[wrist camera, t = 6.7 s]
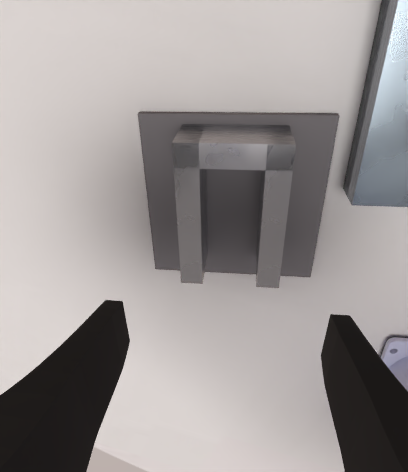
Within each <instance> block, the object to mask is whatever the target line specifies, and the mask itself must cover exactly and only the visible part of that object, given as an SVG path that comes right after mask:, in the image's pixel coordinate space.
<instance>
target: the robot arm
mask: <svg viewBox="0 0 408 472" xmlns="http://www.w3.org/2000/svg"><path fill="white" fill-rule="evenodd" d="M129 342H130V339H129V334H128V328H127V323H126V318H125V312H124V307H123V302H122V301H111V300H106V301H104V302H103V303H102V304H101V305H100V306H99V307H98V308H97V310H96V311H95V312H94V313H93V314H92V315H91V316H90V317H89V318H88V319H87V320H86V321H85V322H84V323H83V324H82V325H81V326H80V327H79V328H78V329H77V330H76V331H75V332H74V333H73V334H72V335H71V336H70V337H69V338H68V339H67V340H66V341H65V342H64V343H63V344H62V345H61V346H60V347H59V348H57V349H56V350H55V351H54V352H53V353H52V354H51V355H50V356H49V357H47V358H46V359H45V360H44V361H43V362H42V363H41V364H40V365H39V366H37V367H36V368H35V369H34V370H33V371H31V372H30V373H29V374H28V375H26V376H25V377H24V378H23V379H21V380H20V381H19V382H18V383H16V384H15V385H14V386H12V387H11V388H10V389H8V390H7V391H6V392H4V393H3V394H1V395H0V472H86V470H87V467H88V464H89V460H90V457H91V453H92V449H93V446H94V443H95V440H96V437H97V434H98V431H99V428H100V426H101V423H102V421H103V418H104V416H105V413H106V410H107V408H108V405H109V403H110V400H111V398H112V395H113V393H114V390H115V388H116V385H117V382H118V380H119V377H120V375H121V372H122V369H123V366H124V362H125V358H126V355H127V351H128V346H129ZM321 360H322V368H323V376H324V384H325V388H326V393H327V397H328V401H329V405H330V409H331V413H332V417H333V422H334V426H335V430H336V434H337V438H338V442H339V446H340V450H341V454H342V459H343V464H344V469H345V472H408V338H397V337H393V338H390V339H388V340H387V342H386V344H385V347H384V350H383V353H382V355H381V358H380V357H379V355H378V354H377V353H376V351H375V350H374V349H373V347H372V346H371V345H370V343H369V342H368V340H367V339H366V338H365V336H364V335H363V333H362V332H361V331H360V329H359V328H358V326H357V325H356V323H355V322H354V321H353V319H352V318H351V317H350V316H348V315H333V314H331V315H330V319H329V323H328V327H327V332H326V336H325V340H324V345H323V349H322V353H321Z"/></svg>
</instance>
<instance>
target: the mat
mask: <svg viewBox="0 0 408 472" xmlns="http://www.w3.org/2000/svg"><path fill="white" fill-rule="evenodd" d="M138 119H139V127H140V136H141V145H142V154H143V163H144V172H145V180H146V189H147V198H148V207H149V216H150V225H151V233H152V242H153V251H154V260H155V269H165V270H180V257H179V242H178V227H177V212H176V198H175V183H174V168H173V153H172V141H173V140H174V138H175V136H176V134H177V133H178V131H179V129H180V128H181V126H182V124H215V125H290V128H291V131H292V134H293V137H294V140H295V143H296V149H295V157H294V165H293V174H292V182H291V190H290V198H289V207H288V215H287V223H286V231H285V239H284V248H283V256H282V264H281V272H280V276H297V277H310V276H311V271H312V265H313V259H314V254H315V248H316V243H317V237H318V232H319V226H320V221H321V215H322V209H323V204H324V198H325V193H326V187H327V182H328V176H329V170H330V165H331V159H332V154H333V148H334V143H335V137H336V131H337V126H338V120H339V115H338V114H331V113H210V112H139V113H138ZM206 174H207V239H208V254H207V260H206V266H205V271H204V272H221V273H240V274H256V245H257V232H258V218H259V204H260V190H261V176H262V170H228V169H206Z"/></svg>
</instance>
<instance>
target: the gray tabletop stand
mask: <svg viewBox="0 0 408 472" xmlns="http://www.w3.org/2000/svg"><path fill="white" fill-rule="evenodd" d="M295 149H296V143H295V140H294V137H293V134H292V131H291V128H290V125H215V124H182V126H181V128H180V129H179V131H178V133H177V134H176V136H175V138H174V140H173V141H172V153H173V168H174V183H175V198H176V212H177V227H178V242H179V257H180V272H181V282H182V283H200V284H202V283H203V277H204V271H205V266H206V260H207V254H208V239H207V174H206V169H228V170H262V176H261V190H260V204H259V218H258V232H257V245H256V287H271V288H279V281H280V272H281V264H282V256H283V248H284V239H285V231H286V223H287V215H288V207H289V198H290V190H291V182H292V174H293V165H294V157H295Z"/></svg>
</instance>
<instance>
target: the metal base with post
mask: <svg viewBox="0 0 408 472" xmlns="http://www.w3.org/2000/svg"><path fill="white" fill-rule="evenodd" d="M343 189H344V191H345V193H346V195H347V197H348V199H349V201H350V202H351V204H352V205H364V206H394V207H408V0H382V4H381V8H380V13H379V18H378V23H377V28H376V33H375V37H374V42H373V47H372V52H371V57H370V61H369V66H368V71H367V76H366V81H365V86H364V90H363V95H362V100H361V105H360V110H359V115H358V119H357V124H356V129H355V134H354V139H353V144H352V148H351V153H350V158H349V163H348V168H347V172H346V177H345V182H344V187H343Z"/></svg>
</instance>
